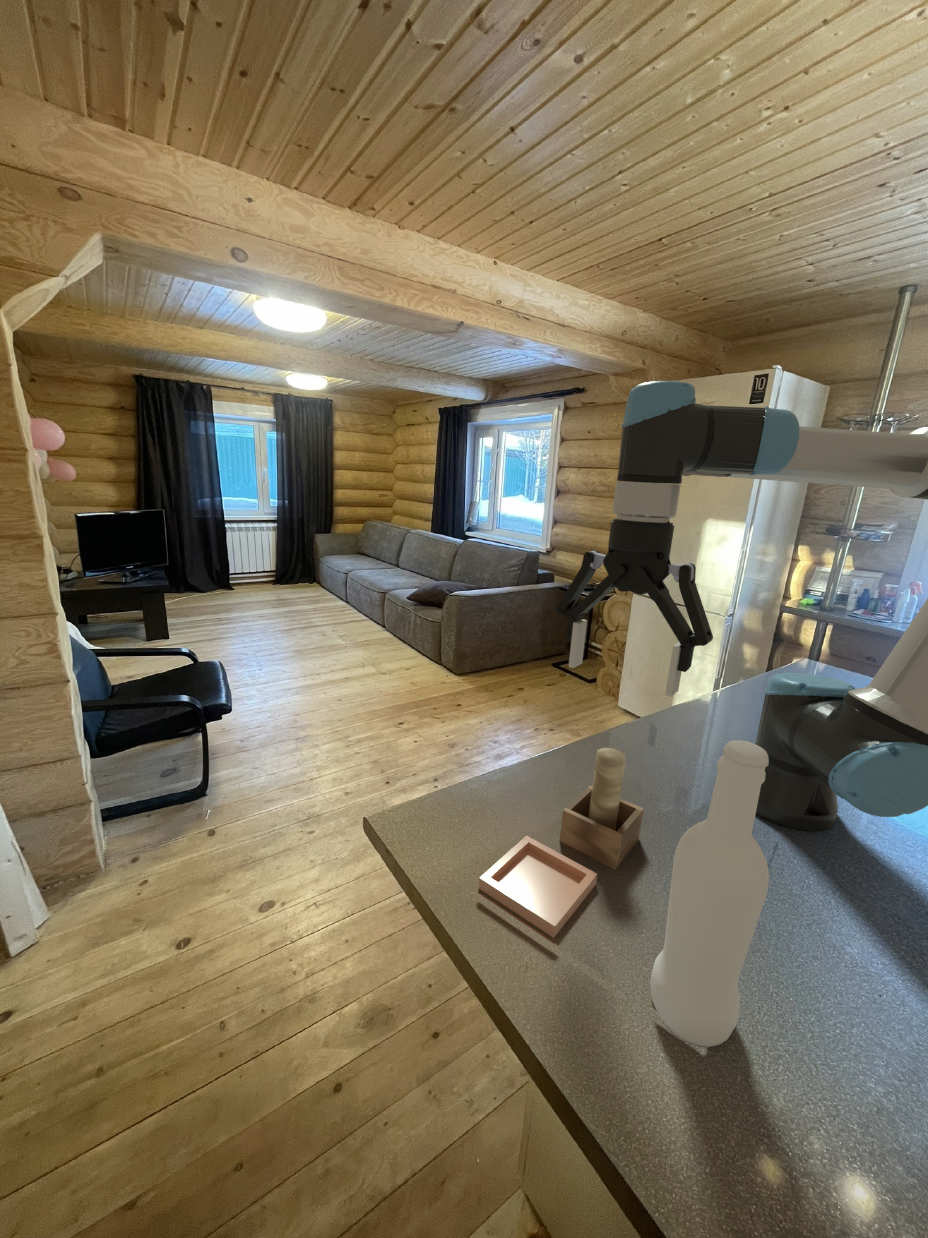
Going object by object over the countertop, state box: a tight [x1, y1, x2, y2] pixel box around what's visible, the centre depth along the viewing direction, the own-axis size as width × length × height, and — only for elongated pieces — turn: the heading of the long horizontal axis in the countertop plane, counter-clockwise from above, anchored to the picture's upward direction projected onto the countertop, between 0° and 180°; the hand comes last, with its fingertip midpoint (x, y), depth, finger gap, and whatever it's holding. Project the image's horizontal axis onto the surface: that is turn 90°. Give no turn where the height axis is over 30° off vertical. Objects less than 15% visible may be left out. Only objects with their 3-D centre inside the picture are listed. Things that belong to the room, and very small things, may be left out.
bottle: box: [650, 739, 770, 1048], centre depth 48 cm, size 8×8×30 cm
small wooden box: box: [559, 784, 645, 871], centre depth 75 cm, size 9×9×6 cm
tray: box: [477, 835, 598, 944], centre depth 66 cm, size 11×11×2 cm
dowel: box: [588, 747, 627, 831], centre depth 74 cm, size 4×4×14 cm
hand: (620, 678), depth 69 cm, fingers open, 13 cm apart
